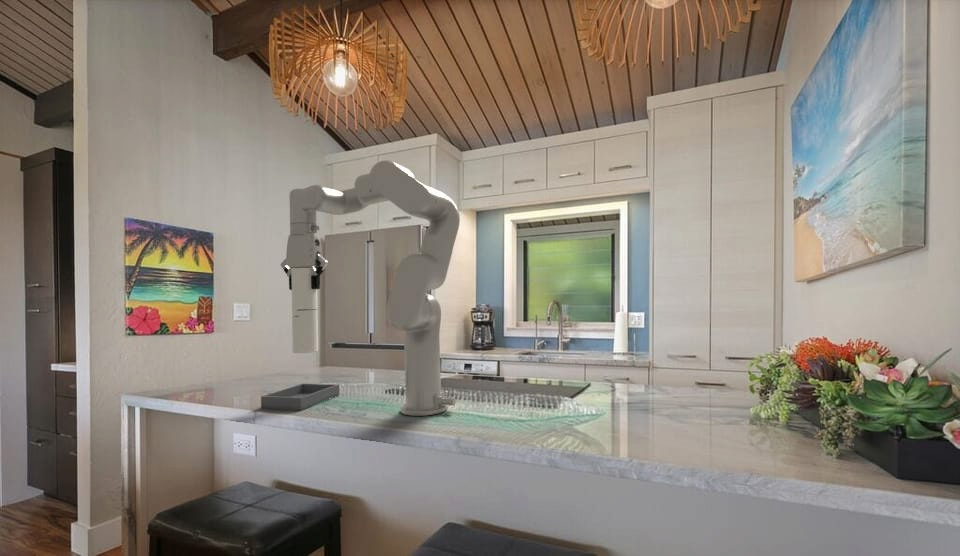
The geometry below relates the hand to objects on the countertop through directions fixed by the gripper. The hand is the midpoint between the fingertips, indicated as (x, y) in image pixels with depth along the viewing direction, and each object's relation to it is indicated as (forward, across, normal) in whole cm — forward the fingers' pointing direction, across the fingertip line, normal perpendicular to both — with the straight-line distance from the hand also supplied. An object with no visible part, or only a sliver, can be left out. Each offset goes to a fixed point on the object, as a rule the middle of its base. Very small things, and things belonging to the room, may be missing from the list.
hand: (304, 289), depth 138 cm
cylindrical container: (+19, 0, 0) cm, 19 cm away
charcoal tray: (+34, +3, -2) cm, 35 cm away
